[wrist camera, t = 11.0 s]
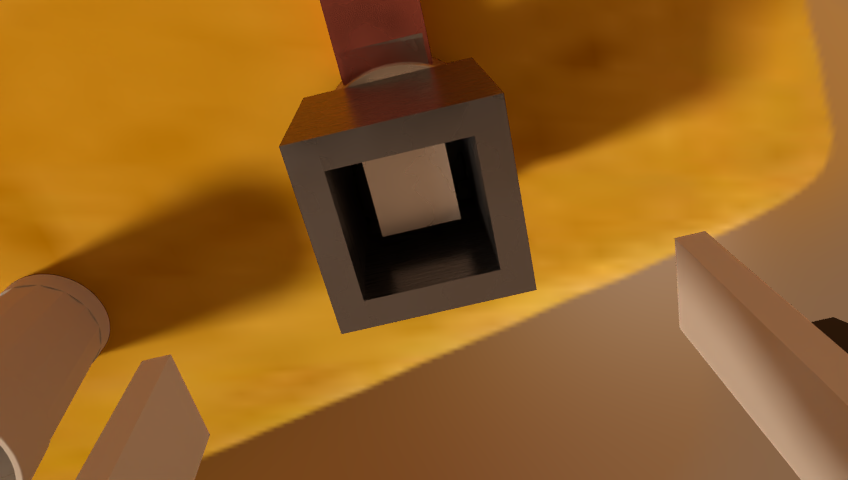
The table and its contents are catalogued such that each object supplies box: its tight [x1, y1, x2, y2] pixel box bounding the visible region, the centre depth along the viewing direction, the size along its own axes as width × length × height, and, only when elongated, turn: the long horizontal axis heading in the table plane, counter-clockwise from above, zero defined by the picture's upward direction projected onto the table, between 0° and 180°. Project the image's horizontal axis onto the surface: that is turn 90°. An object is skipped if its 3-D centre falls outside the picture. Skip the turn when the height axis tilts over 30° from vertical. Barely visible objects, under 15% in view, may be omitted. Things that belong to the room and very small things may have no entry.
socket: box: [279, 58, 537, 334], centre depth 27 cm, size 8×8×8 cm
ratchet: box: [320, 0, 472, 237], centre depth 28 cm, size 22×9×8 cm, turn 13°
